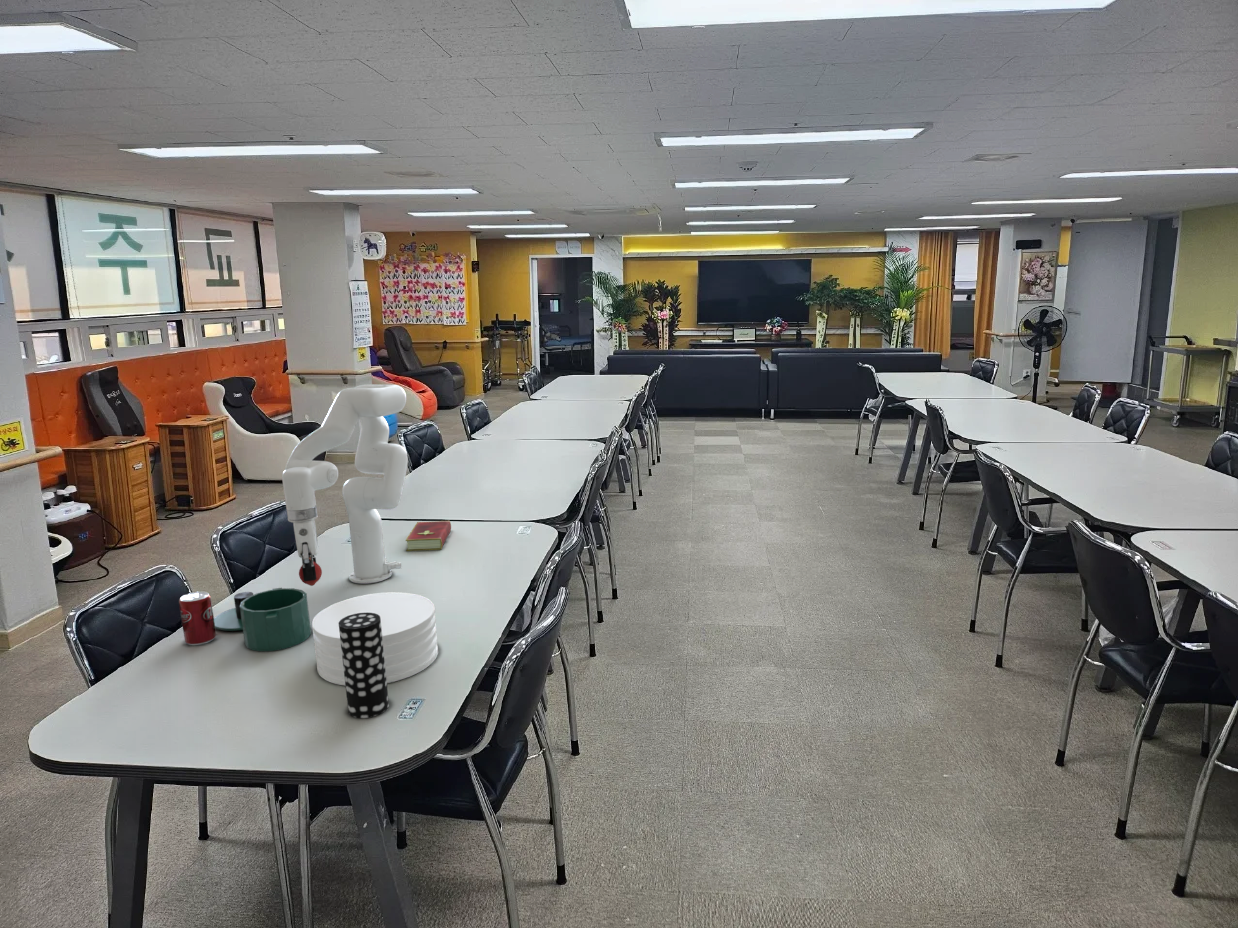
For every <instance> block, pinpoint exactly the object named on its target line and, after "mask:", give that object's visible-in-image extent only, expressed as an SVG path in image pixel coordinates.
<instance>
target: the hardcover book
mask: <svg viewBox="0 0 1238 928" xmlns="http://www.w3.org/2000/svg"><path fill="white" fill-rule="evenodd" d="M451 531H452V523H451V521H450V520H435V521H434V520H433V521H417V522H416V523H415V525H414V526H413V528H412V529H411V531H410V532H409V534H408V535H407V537H406V539H405V542H406V544H407V548H406V550H405V551H406V552H418V551H438V550H439V551H440V550H442V549H443V547H444V545H445V543H446V541H447V539H448V537H449V535H450V533H451Z"/></svg>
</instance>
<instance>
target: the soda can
mask: <svg viewBox="0 0 1238 928" xmlns="http://www.w3.org/2000/svg"><path fill="white" fill-rule="evenodd" d="M178 607H179V612H180V620H181V626H182V632H183V640H184V643H186V644H187V645H188V646H201V645H205V644H208V643H211V642H212V641H214V640H215V639H216V637H217V631H216V630H217V629H216V628H215V623H214V618H215V616H214V610H213V602H212V596H211V594H210V593H209V592H207V591H195V592H189V593H186V594H183V595H182V596H181V597H180V598H179V599H178Z"/></svg>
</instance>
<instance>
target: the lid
mask: <svg viewBox="0 0 1238 928" xmlns="http://www.w3.org/2000/svg"><path fill="white" fill-rule="evenodd" d="M252 595H254V592H252V591H242V592H239V593H236V594H234V595H233V602H234V607H233V608H230V609H227V610H225V611H222V612H220V613H219V614H217V615H216V616H214V623H215V629H216V630H220V631H230V632H231V631H232V632H233V631H235V632H236V631H243V626H242V619H241V612H240V604H241V602H242V601H243V600H245V599H246V598H247V597H249V596H252Z"/></svg>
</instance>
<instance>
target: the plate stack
mask: <svg viewBox="0 0 1238 928" xmlns="http://www.w3.org/2000/svg"><path fill="white" fill-rule="evenodd" d="M435 607H436V606H435V604H434V602H432V600H431V599H429V598H428V597H425V596H423V595H420V594H416V593H410V592H401V591H400V592H398V591H390V592H389V591H386V592H375V593H367V594H361V595H358V596H354V597H350V598H347V599H344V600H340V601H338V602H335V603H332V604H331V605H329V606H327V607H325V608H323V609H322V610H320V611H319V612H317V614H315V616H314V617H313V619H312V622H311V627H312V636H313V642H314V643H313V644H314V651H315V661H316V668H317V673H318V675H319V676H320V677H321V678H322V679H324V680H325V681H326V682H329V683H331V684H335V685H339V686H345V677H344V668H343V659H342V650H341V641H340V632H339V621H340V620H341V619H343V618H344V617H347V616H349V615H352V614H357V613H375V614H378V615H379V616H380V619H381V629H382V639H383V650H384V660H385V670H386V680H387V684H390V683H394V682H397V681H401V680H405V679H407V678H409V677H412V676H414V675H416V674H419V673H421V672H422V671H424V670H425V669H427V668H428V667H430V666H431V665H432V664H433V663H434V662H435V660H436V659H437V657H438V656H439V655H438V654H439V646H438V635H437V625H436V622H437V619H436V609H435Z"/></svg>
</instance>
